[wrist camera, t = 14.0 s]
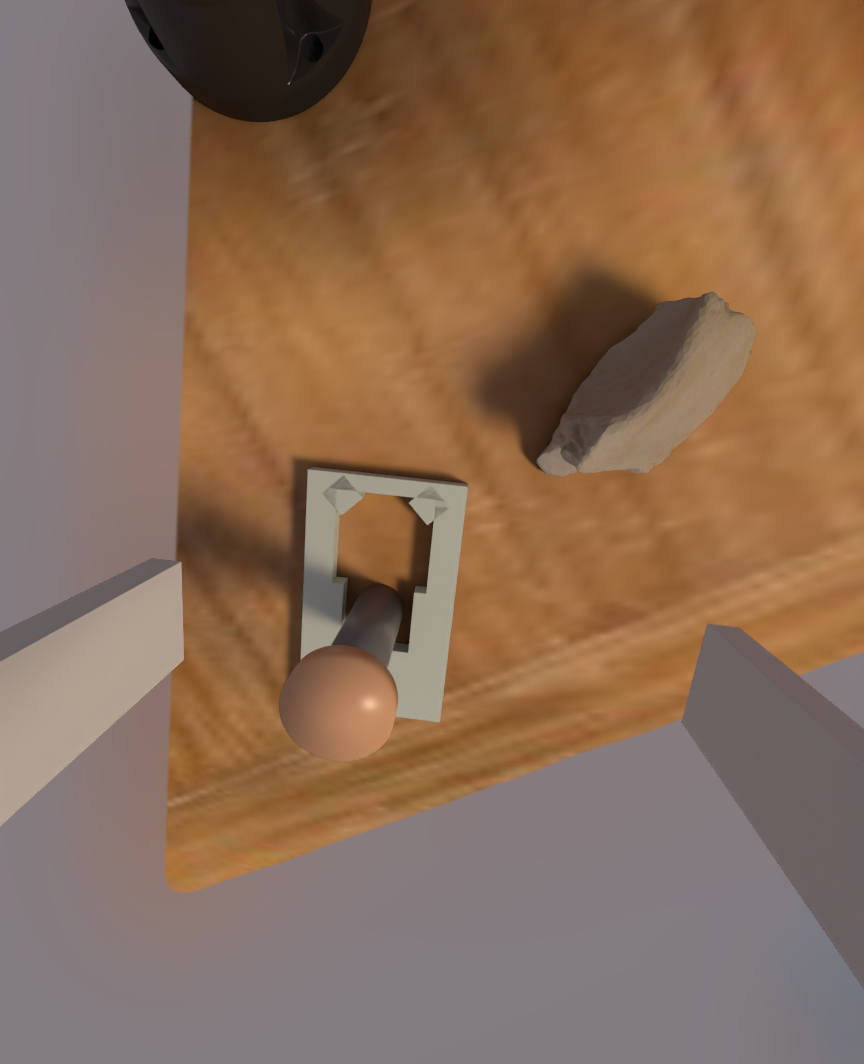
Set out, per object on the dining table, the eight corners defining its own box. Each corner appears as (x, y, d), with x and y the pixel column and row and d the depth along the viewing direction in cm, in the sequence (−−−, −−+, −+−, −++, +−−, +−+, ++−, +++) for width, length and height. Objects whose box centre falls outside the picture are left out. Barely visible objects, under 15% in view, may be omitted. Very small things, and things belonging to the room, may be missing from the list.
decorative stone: (515, 442, 38) (529, 453, 30) (667, 287, 34) (729, 252, 26) (590, 517, 39) (623, 546, 31) (745, 373, 35) (826, 364, 27)
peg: (344, 566, 41) (280, 651, 27) (422, 575, 40) (399, 666, 26) (339, 637, 42) (277, 753, 28) (414, 647, 42) (389, 768, 28)
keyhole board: (313, 466, 39) (307, 469, 37) (467, 483, 38) (467, 486, 37) (304, 694, 44) (298, 704, 42) (440, 711, 43) (439, 722, 42)
